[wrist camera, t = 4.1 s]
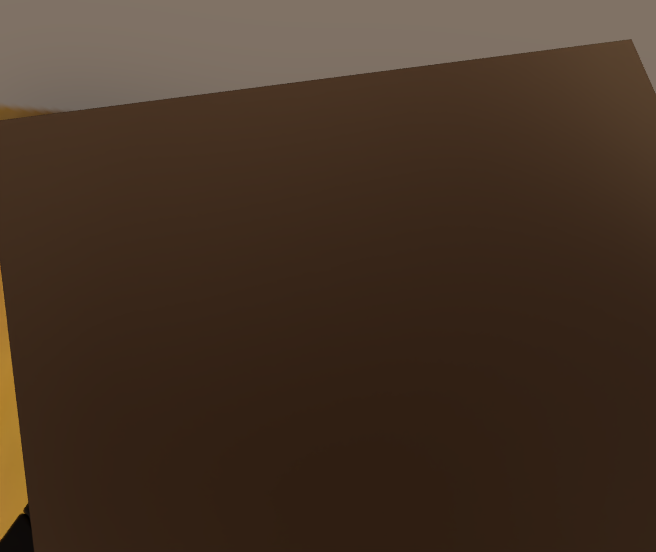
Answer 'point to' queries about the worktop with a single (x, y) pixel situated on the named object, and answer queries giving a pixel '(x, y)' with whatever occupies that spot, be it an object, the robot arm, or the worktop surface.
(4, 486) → the worktop surface
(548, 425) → the walnut pillar
